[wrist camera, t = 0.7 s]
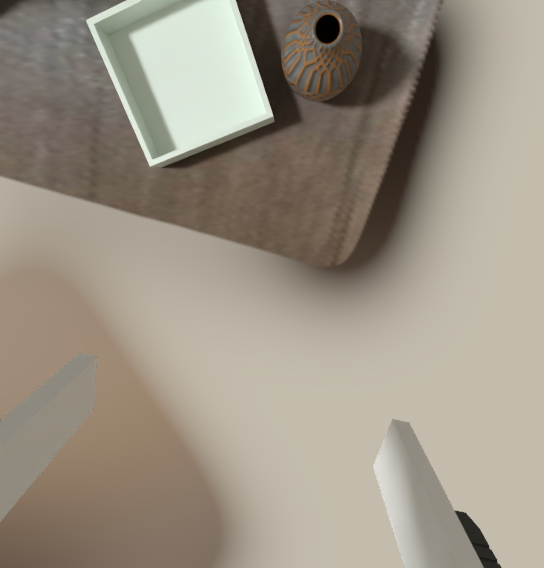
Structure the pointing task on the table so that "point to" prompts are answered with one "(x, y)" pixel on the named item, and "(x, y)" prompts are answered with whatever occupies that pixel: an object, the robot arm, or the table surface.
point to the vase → (321, 50)
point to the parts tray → (182, 74)
